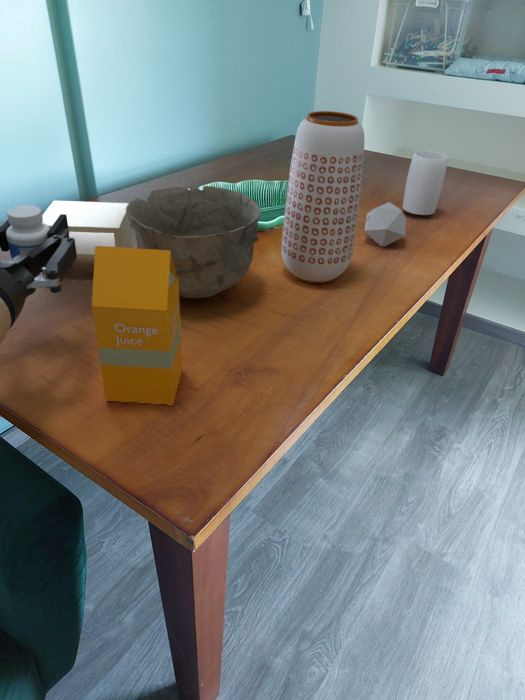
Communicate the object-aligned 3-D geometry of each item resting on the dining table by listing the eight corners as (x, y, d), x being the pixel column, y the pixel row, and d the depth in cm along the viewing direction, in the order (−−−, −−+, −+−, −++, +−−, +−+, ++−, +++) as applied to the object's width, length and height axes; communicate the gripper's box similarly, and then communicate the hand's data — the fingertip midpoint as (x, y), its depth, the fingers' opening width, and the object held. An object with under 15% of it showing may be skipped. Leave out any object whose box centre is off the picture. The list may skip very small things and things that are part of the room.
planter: (297, 294, 95) (313, 127, 79) (268, 262, 105) (278, 108, 89) (361, 284, 100) (390, 124, 83) (328, 254, 110) (348, 106, 93)
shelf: (44, 278, 95) (34, 225, 89) (62, 250, 105) (53, 200, 99) (124, 280, 96) (118, 227, 90) (134, 252, 106) (130, 203, 100)
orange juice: (120, 366, 75) (103, 232, 64) (183, 370, 75) (177, 237, 64) (105, 402, 69) (83, 260, 57) (173, 406, 69) (165, 265, 57)
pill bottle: (16, 273, 74) (0, 204, 68) (58, 268, 75) (45, 201, 70) (17, 292, 69) (0, 220, 64) (61, 286, 71) (48, 216, 66)
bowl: (237, 256, 107) (240, 181, 98) (275, 310, 90) (281, 226, 81) (125, 267, 100) (117, 188, 92) (143, 328, 84) (135, 238, 75)
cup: (393, 210, 133) (404, 151, 125) (419, 206, 137) (432, 149, 129) (415, 222, 127) (429, 161, 119) (442, 217, 131) (457, 158, 123)
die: (376, 233, 122) (358, 201, 116) (415, 221, 117) (398, 187, 111) (373, 260, 117) (354, 227, 111) (413, 249, 113) (395, 214, 106)
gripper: (-108, 338, 56) (-21, 245, 75) (72, 343, 57) (113, 250, 76) (-135, 274, 51) (-35, 193, 70) (61, 280, 53) (107, 198, 72)
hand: (41, 223), depth 73 cm, fingers closed on pill bottle, 5 cm apart
